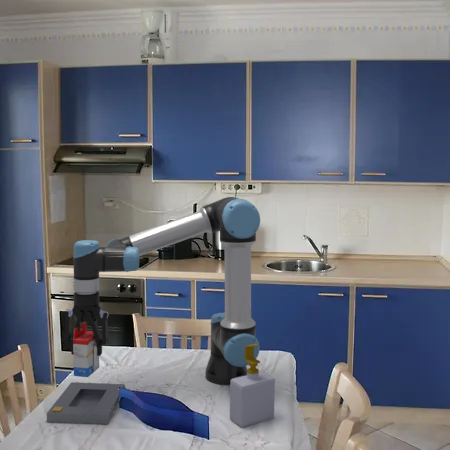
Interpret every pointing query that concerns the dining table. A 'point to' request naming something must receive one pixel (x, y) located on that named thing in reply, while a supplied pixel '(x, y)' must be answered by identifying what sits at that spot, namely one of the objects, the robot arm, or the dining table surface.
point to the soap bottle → (252, 394)
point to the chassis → (86, 403)
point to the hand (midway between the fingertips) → (86, 364)
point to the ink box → (83, 352)
